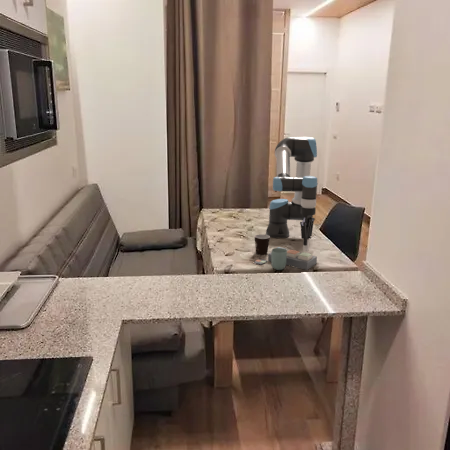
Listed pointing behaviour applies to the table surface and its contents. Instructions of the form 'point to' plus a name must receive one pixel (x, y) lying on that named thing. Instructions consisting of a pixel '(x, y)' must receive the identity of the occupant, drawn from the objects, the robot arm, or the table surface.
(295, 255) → the key mid
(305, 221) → the robot arm
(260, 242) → the coffee mug
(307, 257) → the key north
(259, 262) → the tile
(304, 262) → the keypad
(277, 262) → the cup
